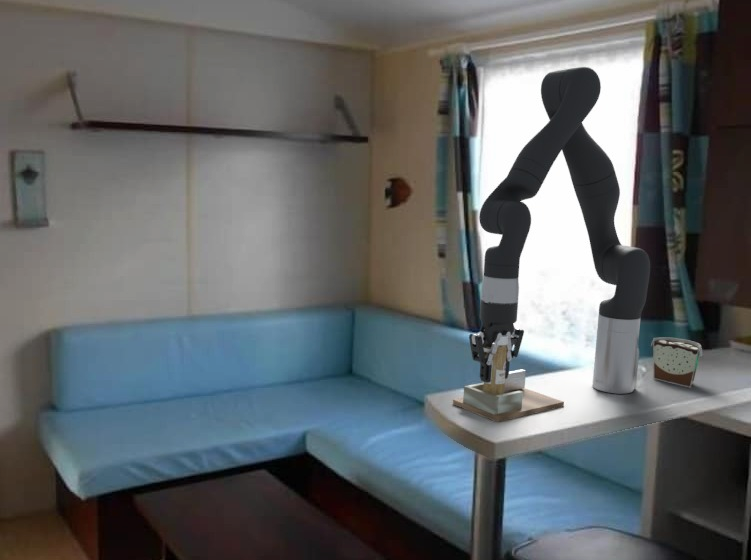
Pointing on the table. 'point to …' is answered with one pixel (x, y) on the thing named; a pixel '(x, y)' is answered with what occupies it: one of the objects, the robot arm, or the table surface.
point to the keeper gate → (515, 380)
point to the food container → (675, 360)
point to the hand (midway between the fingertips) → (494, 379)
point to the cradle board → (505, 403)
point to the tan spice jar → (497, 369)
